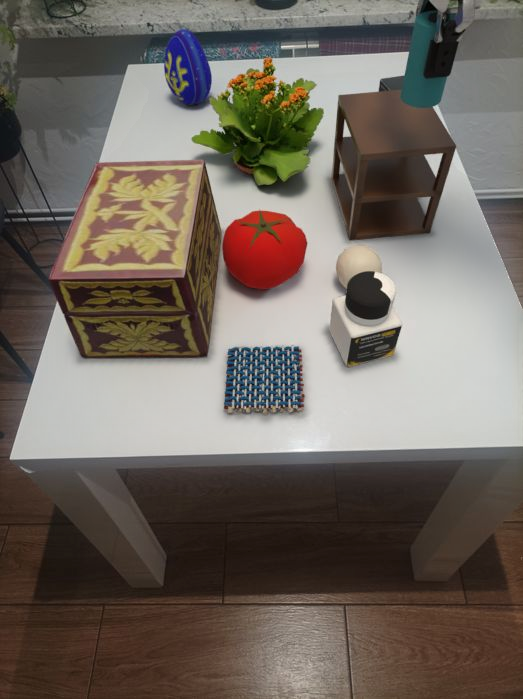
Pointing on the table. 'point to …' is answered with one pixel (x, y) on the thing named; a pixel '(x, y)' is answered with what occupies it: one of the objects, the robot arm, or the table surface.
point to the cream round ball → (356, 262)
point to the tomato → (264, 249)
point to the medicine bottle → (365, 319)
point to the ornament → (187, 68)
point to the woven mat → (264, 379)
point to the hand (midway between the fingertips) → (428, 63)
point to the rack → (388, 164)
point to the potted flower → (264, 124)
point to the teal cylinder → (422, 65)
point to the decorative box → (141, 261)
